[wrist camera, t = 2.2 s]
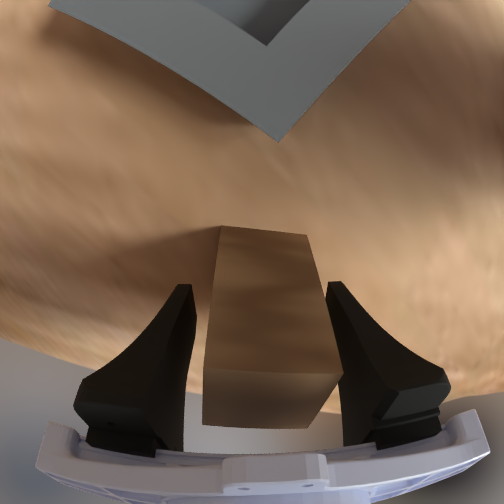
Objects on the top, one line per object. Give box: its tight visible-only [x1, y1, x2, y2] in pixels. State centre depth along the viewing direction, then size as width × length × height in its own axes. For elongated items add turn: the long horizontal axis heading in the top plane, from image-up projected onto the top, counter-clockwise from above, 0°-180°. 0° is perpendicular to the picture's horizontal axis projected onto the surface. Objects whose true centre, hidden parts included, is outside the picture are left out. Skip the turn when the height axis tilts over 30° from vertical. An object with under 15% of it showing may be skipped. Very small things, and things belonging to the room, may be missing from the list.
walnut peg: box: [202, 226, 344, 429], centre depth 13 cm, size 4×4×8 cm
